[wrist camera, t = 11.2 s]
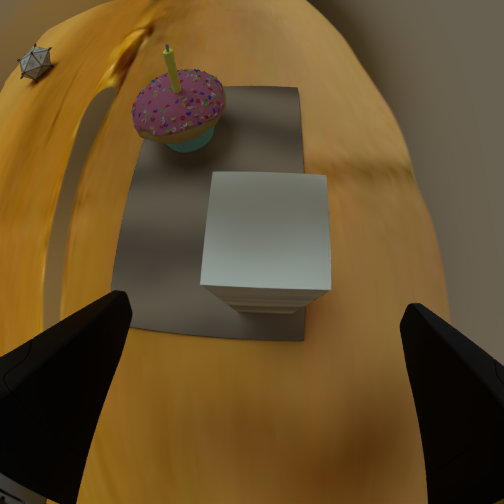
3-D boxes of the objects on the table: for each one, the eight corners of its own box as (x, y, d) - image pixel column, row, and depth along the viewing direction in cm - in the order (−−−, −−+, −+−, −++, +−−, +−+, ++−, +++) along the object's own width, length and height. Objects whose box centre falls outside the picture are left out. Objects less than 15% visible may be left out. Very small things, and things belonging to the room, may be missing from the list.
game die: (51, 80, 39) (50, 42, 33) (57, 74, 35) (57, 32, 29) (17, 92, 34) (15, 53, 28) (18, 87, 29) (17, 44, 23)
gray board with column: (303, 340, 20) (360, 354, 8) (110, 323, 21) (-9, 303, 8) (297, 90, 27) (306, -7, 15) (162, 95, 28) (129, 10, 16)
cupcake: (249, 135, 25) (240, 27, 13) (175, 186, 23) (120, 87, 12) (200, 95, 27) (178, 6, 15) (136, 137, 26) (88, 53, 14)
